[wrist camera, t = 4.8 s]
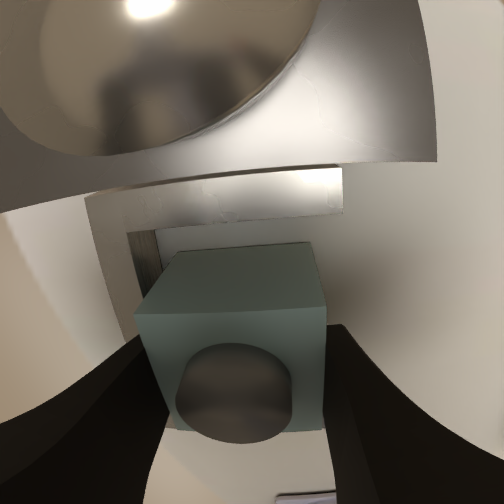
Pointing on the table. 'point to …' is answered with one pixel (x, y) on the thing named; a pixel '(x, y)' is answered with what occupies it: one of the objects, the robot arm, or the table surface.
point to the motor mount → (203, 113)
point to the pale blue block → (239, 341)
